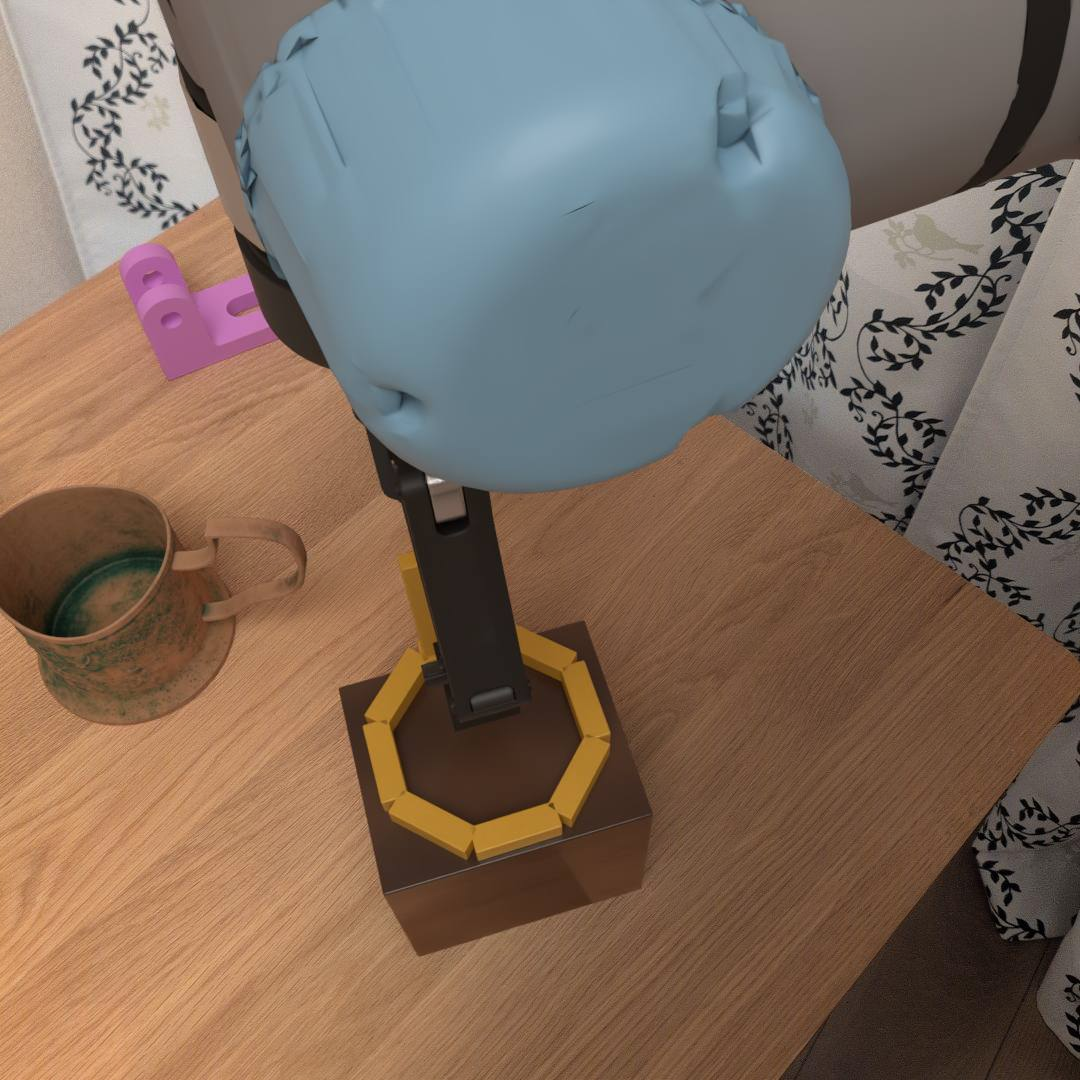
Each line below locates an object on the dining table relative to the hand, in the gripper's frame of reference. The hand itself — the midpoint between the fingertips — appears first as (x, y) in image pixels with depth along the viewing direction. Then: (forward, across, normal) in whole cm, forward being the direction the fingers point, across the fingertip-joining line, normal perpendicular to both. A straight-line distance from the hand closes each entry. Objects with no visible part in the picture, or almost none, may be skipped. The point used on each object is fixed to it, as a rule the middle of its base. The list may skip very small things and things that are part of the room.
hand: (444, 572), depth 49 cm
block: (+18, -6, 0) cm, 19 cm away
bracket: (+19, +35, +8) cm, 41 cm away
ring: (+6, -5, 0) cm, 8 cm away
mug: (+18, +11, +15) cm, 26 cm away
